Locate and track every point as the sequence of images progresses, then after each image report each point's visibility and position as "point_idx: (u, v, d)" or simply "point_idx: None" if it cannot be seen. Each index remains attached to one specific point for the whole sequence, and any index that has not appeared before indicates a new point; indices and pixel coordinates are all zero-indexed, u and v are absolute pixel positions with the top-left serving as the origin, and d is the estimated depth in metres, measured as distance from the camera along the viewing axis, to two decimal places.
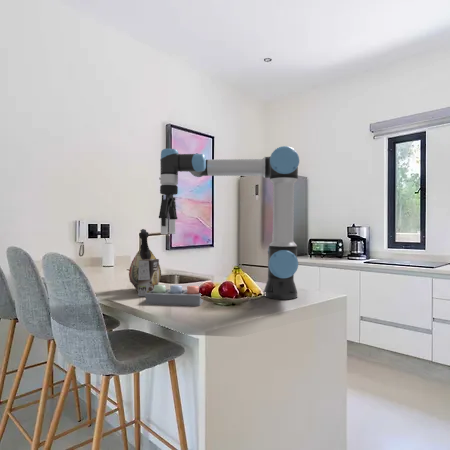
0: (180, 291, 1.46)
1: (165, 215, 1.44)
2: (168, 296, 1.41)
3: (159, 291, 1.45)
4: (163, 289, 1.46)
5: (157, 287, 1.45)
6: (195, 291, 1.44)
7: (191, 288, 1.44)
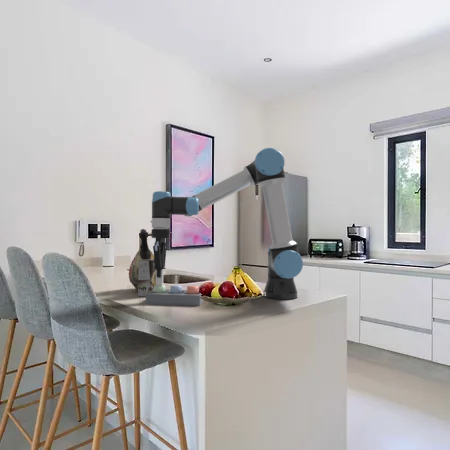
0: (180, 291, 1.46)
1: (160, 267, 1.44)
2: (168, 296, 1.41)
3: (159, 291, 1.45)
4: (163, 289, 1.46)
5: (157, 287, 1.45)
6: (195, 291, 1.44)
7: (191, 288, 1.44)
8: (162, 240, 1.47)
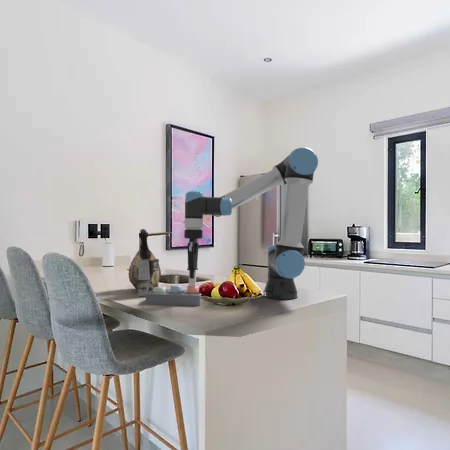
0: (180, 291, 1.46)
1: (194, 268, 1.43)
2: (168, 296, 1.41)
3: None
4: (163, 291, 1.46)
5: (157, 289, 1.45)
6: (195, 291, 1.44)
7: (191, 288, 1.44)
8: (195, 241, 1.46)
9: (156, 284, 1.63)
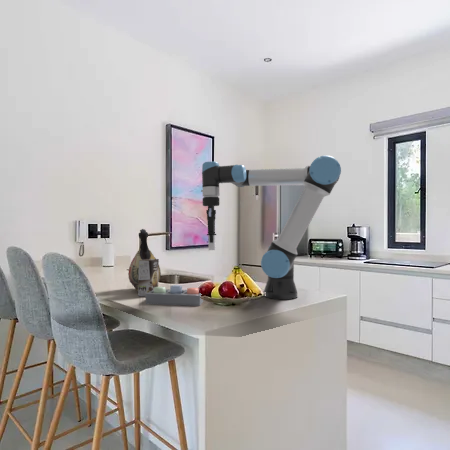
0: (180, 291, 1.46)
1: (213, 233, 1.54)
2: (168, 296, 1.41)
3: None
4: (163, 291, 1.46)
5: (157, 289, 1.45)
6: (195, 293, 1.44)
7: (191, 290, 1.44)
8: (213, 207, 1.56)
9: (156, 284, 1.63)
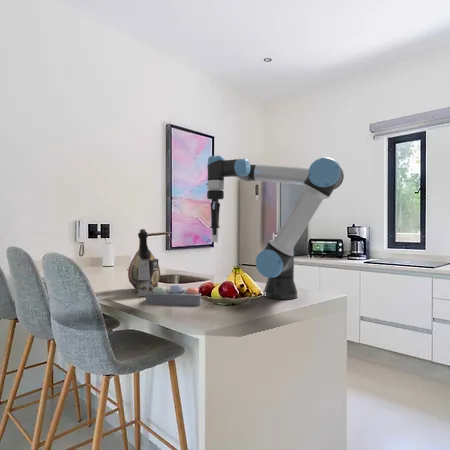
0: (180, 291, 1.46)
1: (217, 225, 1.57)
2: (168, 296, 1.41)
3: None
4: (163, 291, 1.46)
5: (157, 289, 1.45)
6: (195, 293, 1.44)
7: (191, 290, 1.44)
8: (217, 201, 1.60)
9: (156, 284, 1.63)
